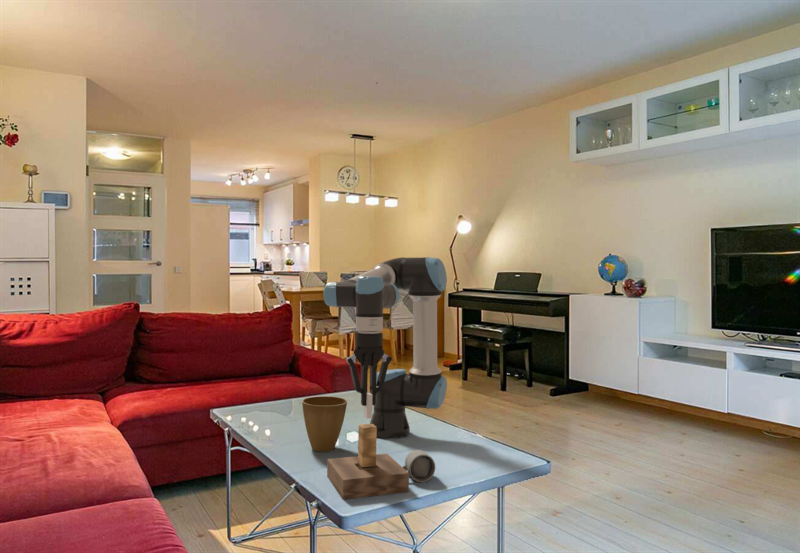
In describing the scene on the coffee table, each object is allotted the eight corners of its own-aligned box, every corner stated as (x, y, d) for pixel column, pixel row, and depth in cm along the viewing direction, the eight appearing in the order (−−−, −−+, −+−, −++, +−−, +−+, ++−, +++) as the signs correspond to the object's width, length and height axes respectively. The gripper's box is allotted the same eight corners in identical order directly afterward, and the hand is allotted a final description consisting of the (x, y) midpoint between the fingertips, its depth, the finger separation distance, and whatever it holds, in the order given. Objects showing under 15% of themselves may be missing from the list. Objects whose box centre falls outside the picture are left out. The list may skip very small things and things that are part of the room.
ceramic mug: (427, 472, 169) (427, 445, 169) (435, 481, 161) (435, 454, 162) (392, 474, 167) (392, 448, 167) (399, 484, 159) (399, 456, 159)
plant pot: (303, 456, 182) (304, 406, 182) (299, 443, 196) (300, 396, 196) (350, 453, 186) (351, 404, 186) (342, 441, 200) (343, 395, 200)
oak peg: (371, 477, 161) (372, 423, 161) (375, 481, 157) (376, 427, 157) (357, 478, 160) (358, 424, 160) (361, 483, 156) (362, 428, 156)
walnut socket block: (386, 470, 170) (387, 453, 170) (408, 491, 153) (408, 473, 153) (327, 476, 164) (327, 459, 164) (342, 499, 147) (343, 479, 147)
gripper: (349, 333, 153) (348, 422, 153) (396, 332, 158) (394, 418, 158) (342, 331, 160) (341, 415, 160) (387, 330, 165) (386, 412, 165)
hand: (368, 417), depth 159 cm, fingers closed
